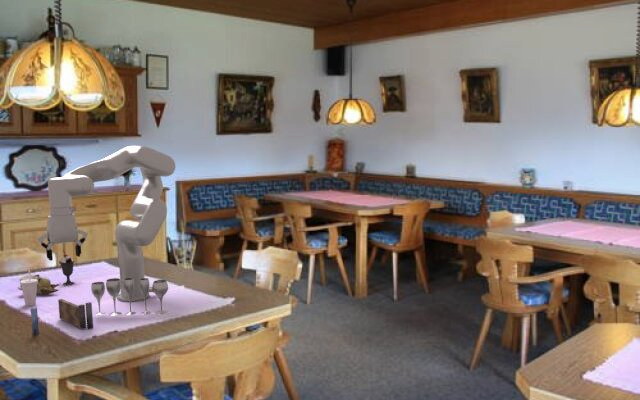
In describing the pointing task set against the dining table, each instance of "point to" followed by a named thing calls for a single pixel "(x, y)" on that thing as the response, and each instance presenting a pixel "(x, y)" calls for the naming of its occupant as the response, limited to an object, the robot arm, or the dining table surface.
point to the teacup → (27, 278)
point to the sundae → (67, 268)
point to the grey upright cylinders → (35, 318)
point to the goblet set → (129, 292)
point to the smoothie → (29, 290)
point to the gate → (72, 313)
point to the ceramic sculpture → (44, 285)
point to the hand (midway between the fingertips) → (64, 258)
